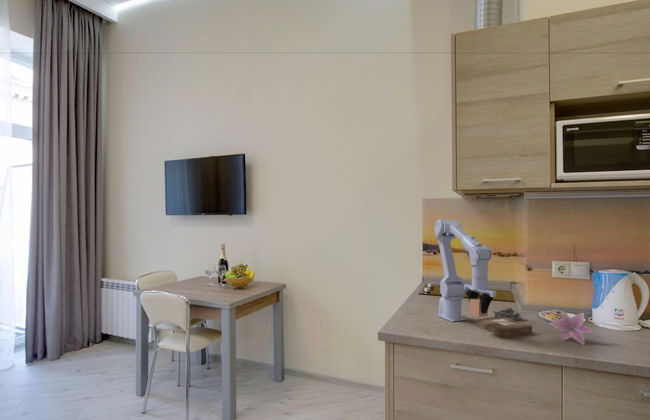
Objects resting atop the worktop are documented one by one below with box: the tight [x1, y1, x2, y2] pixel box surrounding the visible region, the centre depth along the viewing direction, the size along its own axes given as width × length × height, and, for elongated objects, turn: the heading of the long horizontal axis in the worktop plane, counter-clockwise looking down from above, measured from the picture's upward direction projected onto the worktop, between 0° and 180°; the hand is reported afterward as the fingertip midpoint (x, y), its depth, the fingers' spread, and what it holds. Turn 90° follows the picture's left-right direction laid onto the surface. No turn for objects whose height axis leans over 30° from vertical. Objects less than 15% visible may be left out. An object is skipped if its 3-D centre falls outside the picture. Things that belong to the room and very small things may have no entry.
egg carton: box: [492, 306, 521, 321], centre depth 160 cm, size 11×8×4 cm
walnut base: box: [476, 316, 533, 339], centre depth 143 cm, size 14×14×3 cm
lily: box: [550, 311, 594, 345], centre depth 134 cm, size 12×12×10 cm
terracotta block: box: [469, 297, 489, 318], centre depth 140 cm, size 5×5×6 cm
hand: (479, 311), depth 140 cm, fingers closed on terracotta block, 5 cm apart
